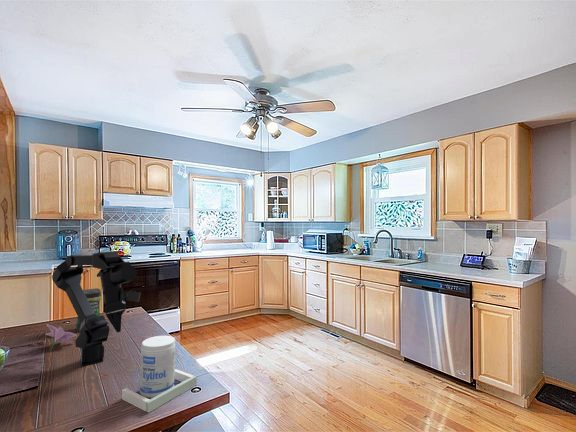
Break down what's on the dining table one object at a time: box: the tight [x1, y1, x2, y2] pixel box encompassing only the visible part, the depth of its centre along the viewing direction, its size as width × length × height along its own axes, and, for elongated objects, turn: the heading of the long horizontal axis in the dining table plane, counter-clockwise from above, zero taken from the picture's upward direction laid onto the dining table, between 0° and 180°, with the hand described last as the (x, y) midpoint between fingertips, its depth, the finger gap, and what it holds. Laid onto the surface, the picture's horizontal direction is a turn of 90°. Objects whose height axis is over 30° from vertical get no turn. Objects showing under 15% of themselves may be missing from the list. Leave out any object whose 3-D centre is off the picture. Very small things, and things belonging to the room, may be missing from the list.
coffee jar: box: [75, 288, 102, 331], centre depth 146 cm, size 10×8×19 cm
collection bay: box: [121, 368, 198, 413], centre depth 91 cm, size 12×16×2 cm
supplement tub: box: [139, 335, 176, 399], centre depth 92 cm, size 10×10×15 cm
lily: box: [45, 323, 78, 352], centre depth 124 cm, size 12×12×10 cm
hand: (118, 332), depth 105 cm, fingers closed
